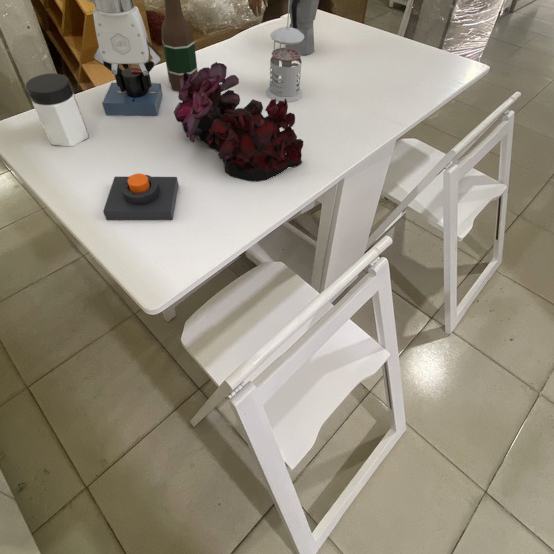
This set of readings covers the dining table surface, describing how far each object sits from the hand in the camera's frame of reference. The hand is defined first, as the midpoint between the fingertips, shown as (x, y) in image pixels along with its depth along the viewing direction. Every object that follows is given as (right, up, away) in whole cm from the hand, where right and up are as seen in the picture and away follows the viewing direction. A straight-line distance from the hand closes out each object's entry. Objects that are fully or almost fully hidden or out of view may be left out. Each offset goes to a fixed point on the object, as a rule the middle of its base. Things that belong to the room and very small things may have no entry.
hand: (135, 88), depth 95 cm
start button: (+8, -28, -22) cm, 37 cm away
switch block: (+8, -31, -19) cm, 37 cm away
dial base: (-1, -2, +3) cm, 4 cm away
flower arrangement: (+24, -16, -6) cm, 29 cm away
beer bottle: (+9, +5, +10) cm, 15 cm away
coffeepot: (+40, +24, +26) cm, 54 cm away
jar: (-13, -14, -6) cm, 20 cm away
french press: (+35, +4, +10) cm, 37 cm away
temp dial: (0, -1, +1) cm, 1 cm away
